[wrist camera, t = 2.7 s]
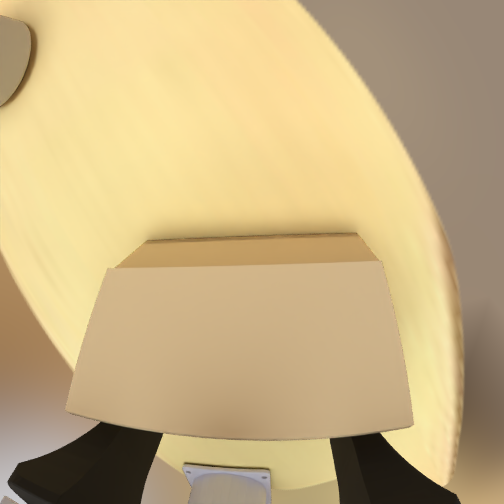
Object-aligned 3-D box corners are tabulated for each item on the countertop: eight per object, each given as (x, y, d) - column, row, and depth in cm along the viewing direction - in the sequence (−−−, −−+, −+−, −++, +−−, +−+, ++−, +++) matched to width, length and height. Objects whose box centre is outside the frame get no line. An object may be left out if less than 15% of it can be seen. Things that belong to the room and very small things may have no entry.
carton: (349, 332, 17) (365, 384, 13) (165, 334, 18) (140, 382, 14) (356, 232, 15) (383, 266, 11) (146, 240, 16) (108, 273, 12)
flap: (409, 427, 7) (413, 425, 7) (71, 413, 8) (65, 410, 8) (379, 267, 11) (381, 260, 11) (111, 274, 12) (107, 268, 12)
